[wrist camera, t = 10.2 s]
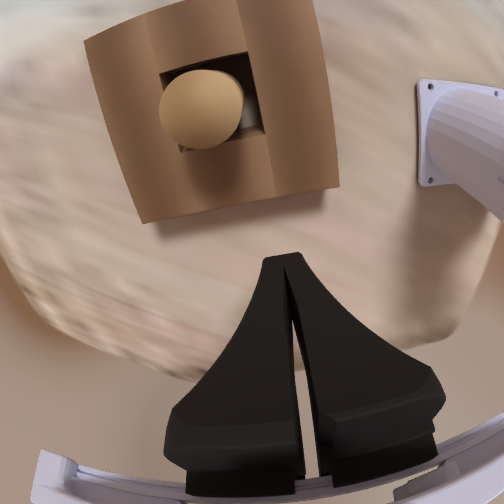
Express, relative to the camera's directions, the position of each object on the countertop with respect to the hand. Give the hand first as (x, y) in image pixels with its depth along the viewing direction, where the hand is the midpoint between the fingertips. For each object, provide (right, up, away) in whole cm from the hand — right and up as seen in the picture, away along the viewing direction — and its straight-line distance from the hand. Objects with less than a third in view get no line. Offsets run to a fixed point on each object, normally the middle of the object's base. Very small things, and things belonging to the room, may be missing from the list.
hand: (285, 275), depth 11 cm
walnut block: (-3, +10, +5) cm, 12 cm away
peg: (-3, +10, +5) cm, 12 cm away
